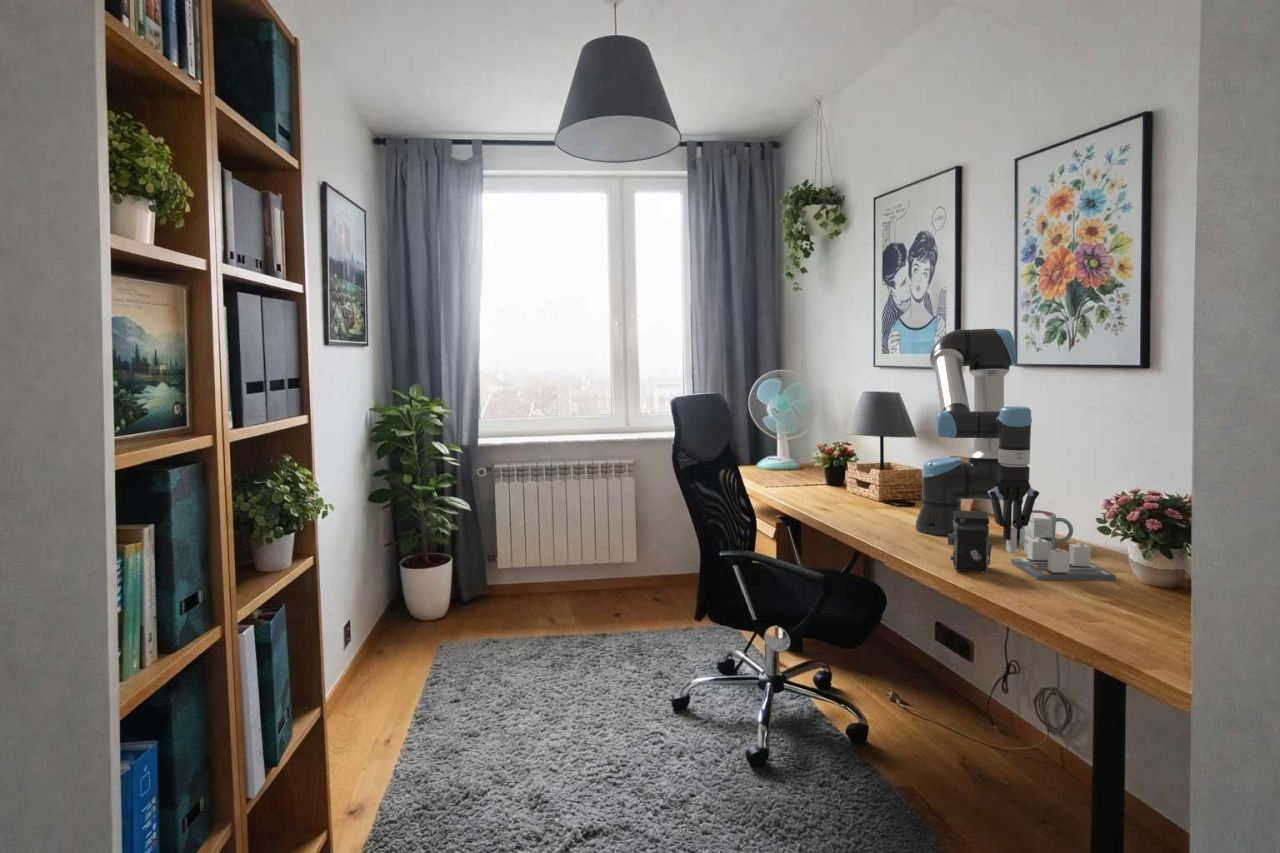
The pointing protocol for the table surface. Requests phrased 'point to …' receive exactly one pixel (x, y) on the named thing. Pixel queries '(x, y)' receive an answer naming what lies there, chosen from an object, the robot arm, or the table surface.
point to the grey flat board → (1041, 572)
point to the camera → (970, 541)
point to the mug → (1054, 520)
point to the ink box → (1038, 529)
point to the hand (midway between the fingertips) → (1011, 551)
